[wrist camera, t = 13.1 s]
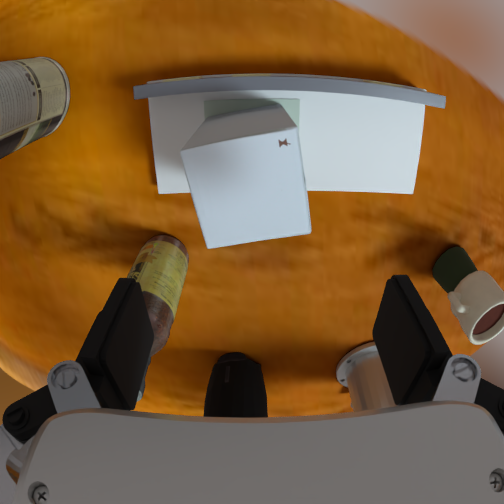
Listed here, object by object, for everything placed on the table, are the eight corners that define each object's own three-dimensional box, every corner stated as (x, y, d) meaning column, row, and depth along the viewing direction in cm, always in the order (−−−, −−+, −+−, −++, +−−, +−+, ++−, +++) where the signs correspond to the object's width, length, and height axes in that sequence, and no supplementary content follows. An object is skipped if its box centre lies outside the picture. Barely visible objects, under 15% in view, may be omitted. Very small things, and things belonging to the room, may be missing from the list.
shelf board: (405, 187, 35) (413, 194, 33) (163, 187, 35) (158, 194, 33) (417, 87, 28) (427, 90, 26) (152, 80, 28) (146, 81, 27)
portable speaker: (262, 382, 54) (264, 485, 37) (209, 378, 53) (199, 481, 37) (269, 352, 49) (273, 467, 33) (209, 347, 49) (196, 463, 32)
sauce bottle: (149, 224, 37) (85, 352, 21) (197, 243, 39) (163, 382, 22) (137, 265, 41) (82, 392, 24) (181, 282, 42) (147, 415, 25)
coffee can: (54, 151, 32) (-21, 199, 20) (0, 120, 29) (-78, 157, 17) (85, 72, 27) (2, 87, 15) (24, 46, 24) (-61, 57, 12)
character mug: (410, 276, 42) (448, 344, 31) (432, 233, 38) (481, 295, 27) (460, 287, 43) (499, 345, 32) (482, 249, 39) (529, 304, 28)
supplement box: (204, 115, 29) (175, 146, 18) (282, 102, 28) (302, 124, 17) (220, 185, 33) (204, 252, 22) (292, 174, 32) (314, 235, 21)
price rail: (425, 102, 27) (444, 108, 24) (148, 95, 28) (134, 99, 24) (426, 89, 27) (446, 94, 23) (147, 81, 27) (133, 84, 23)
